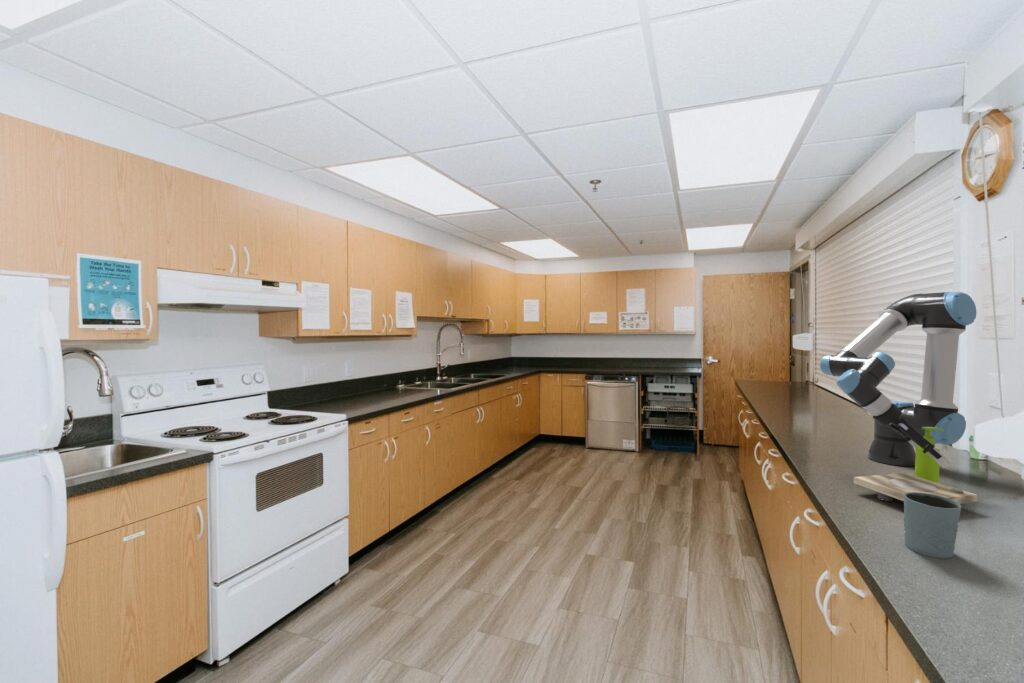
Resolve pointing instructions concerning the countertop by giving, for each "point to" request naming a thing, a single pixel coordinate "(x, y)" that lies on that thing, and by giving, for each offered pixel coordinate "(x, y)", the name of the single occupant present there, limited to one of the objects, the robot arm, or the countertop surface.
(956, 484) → the countertop surface
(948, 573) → the countertop surface
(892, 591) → the countertop surface
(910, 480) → the stand
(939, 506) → the blue-grey cup
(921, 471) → the soap dispenser
